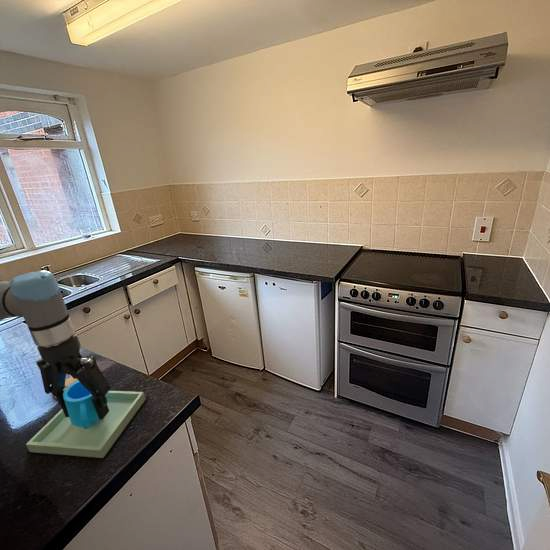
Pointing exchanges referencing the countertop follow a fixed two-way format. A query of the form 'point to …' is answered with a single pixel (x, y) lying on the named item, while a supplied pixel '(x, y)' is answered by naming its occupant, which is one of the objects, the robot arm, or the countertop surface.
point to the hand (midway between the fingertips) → (87, 414)
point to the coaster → (69, 382)
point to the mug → (80, 405)
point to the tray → (95, 439)
